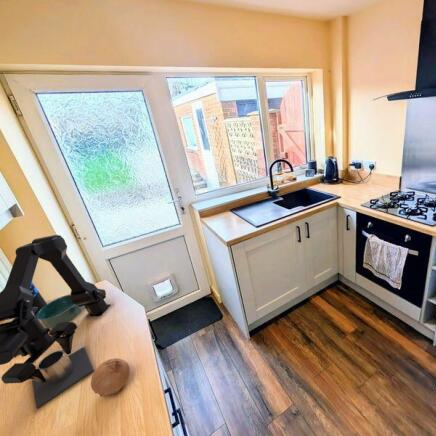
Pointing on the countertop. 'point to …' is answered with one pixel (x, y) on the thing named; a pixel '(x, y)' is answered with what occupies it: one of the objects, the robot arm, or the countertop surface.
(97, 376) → the brown coconut
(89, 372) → the trivet
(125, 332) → the countertop surface
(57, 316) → the teal bowl
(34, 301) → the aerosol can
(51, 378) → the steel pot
